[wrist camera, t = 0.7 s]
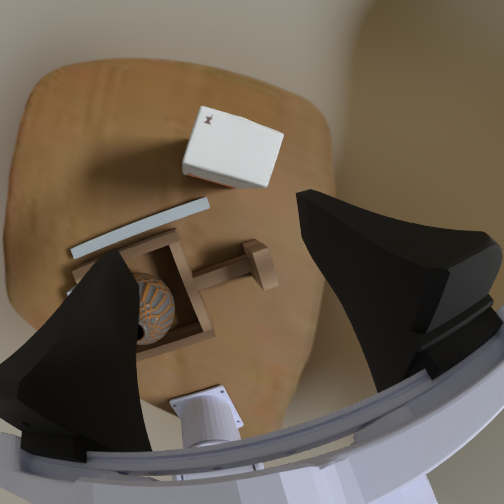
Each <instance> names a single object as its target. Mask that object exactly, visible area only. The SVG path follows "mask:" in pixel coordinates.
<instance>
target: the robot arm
mask: <svg viewBox="0 0 504 504" xmlns="http://www.w3.org/2000/svg"><path fill="white" fill-rule="evenodd" d="M296 198H297V205H298V213H299V220H300V228H301V236H302V239H303V241H304V243H305V245H306V247H307V249H308V251H309V253H310V255H311V257H312V259H313V260H314V262H315V263H316V265H317V266H318V268H319V269H320V271H321V272H322V274H323V275H324V277H325V278H326V280H327V281H328V283H329V284H330V286H331V287H332V289H333V291H334V292H335V294H336V295H337V297H338V298H339V300H340V302H341V304H342V305H343V307H344V310H345V311H346V314H347V316H348V318H349V320H350V322H351V324H352V326H353V329H354V331H355V333H356V336H357V338H358V340H359V342H360V345H361V347H362V350H363V352H364V355H365V358H366V360H367V363H368V366H369V368H370V371H371V374H372V377H373V380H374V383H375V386H376V389H377V392H378V394H375V395H373V396H371V397H369V398H367V399H364V400H362V401H360V402H358V403H355V404H353V405H350V406H348V407H346V408H343V409H341V410H338V411H336V412H333V413H330V414H327V415H325V416H322V417H319V418H316V419H314V420H310V421H307V422H304V423H301V424H298V425H295V426H292V427H288V428H285V429H281V430H278V431H274V432H270V433H266V434H262V435H258V436H254V437H250V438H245V439H241V437H240V434H239V431H238V428H239V427H242V426H243V422H242V420H241V418H240V417H239V415H238V413H237V411H236V409H235V407H234V405H233V403H232V402H231V400H230V398H229V396H228V394H227V392H226V390H225V388H224V386H222V385H219V386H215V387H212V388H209V389H206V390H203V391H200V392H196V393H193V394H190V395H186V396H183V397H179V398H175V399H172V400H170V405H171V406H172V408H173V409H174V411H175V412H176V414H177V415H178V416H179V418H180V419H181V422H182V437H183V449H177V450H166V451H152V449H151V445H150V442H149V439H148V435H147V431H146V428H145V423H144V419H143V414H142V409H141V404H140V397H139V390H138V381H137V369H136V349H137V336H138V324H139V312H140V293H139V284H138V283H137V281H136V280H135V278H134V276H133V275H132V273H131V271H130V270H129V268H128V266H127V265H126V263H125V261H124V259H123V258H122V256H121V254H120V253H119V251H118V249H114V250H111V251H108V252H106V253H104V254H103V255H102V256H101V257H100V258H99V259H98V260H97V261H96V262H95V263H94V264H93V265H92V267H91V268H90V269H89V270H88V272H87V273H86V274H85V275H84V277H83V278H82V279H81V280H80V282H79V283H78V284H77V285H76V287H75V288H74V289H73V290H72V292H71V293H70V294H69V295H68V297H67V298H66V299H65V300H64V302H63V303H62V304H61V305H60V307H59V308H58V309H57V310H56V311H55V313H54V314H53V315H52V316H51V317H50V318H49V319H48V320H47V322H46V323H45V324H44V325H43V326H42V327H41V328H40V329H39V330H38V331H37V332H36V333H35V334H34V335H33V336H32V337H31V338H30V339H29V340H28V341H27V342H26V343H25V344H24V345H23V346H21V347H20V348H19V349H18V350H17V351H16V352H15V353H14V354H12V355H11V356H10V357H9V358H8V359H6V360H5V361H4V362H2V363H1V364H0V418H2V419H3V420H5V421H6V422H8V423H9V424H11V425H12V426H14V427H16V428H17V429H19V430H21V431H22V437H19V436H16V435H13V434H8V433H3V432H2V433H1V434H0V487H1V488H3V489H5V490H7V491H8V492H10V493H13V494H14V495H16V496H19V497H20V498H22V499H24V500H26V501H28V502H30V503H32V504H438V503H437V501H436V498H435V495H434V493H433V491H432V488H431V486H430V483H429V481H428V478H427V476H426V474H427V473H428V472H430V471H431V470H433V469H434V468H435V467H437V466H438V465H440V464H441V463H442V462H444V461H445V460H446V459H448V458H449V457H450V456H452V455H453V454H454V453H455V452H457V451H458V450H459V449H460V448H462V447H463V446H464V445H465V444H466V443H468V442H469V441H470V440H471V439H472V438H473V437H475V436H476V435H477V434H478V433H479V432H480V431H481V430H482V429H483V428H484V427H485V426H486V425H487V424H488V423H490V422H491V420H493V419H494V418H495V417H496V416H497V414H499V412H500V411H501V410H502V409H503V408H504V304H503V305H502V306H501V307H500V308H499V309H498V310H497V312H495V311H494V310H493V309H492V307H491V306H492V305H493V302H494V301H493V299H492V298H491V297H490V295H489V294H488V293H489V291H490V288H491V287H492V284H493V282H494V280H495V278H496V276H497V274H498V271H499V268H500V266H501V262H502V248H501V247H500V245H499V244H497V243H496V242H495V241H494V240H493V239H492V238H491V237H490V236H489V235H487V234H486V233H485V232H481V231H464V230H452V229H444V228H436V227H430V226H424V225H419V224H415V223H409V222H405V221H401V220H397V219H394V218H390V217H387V216H383V215H380V214H376V213H374V212H371V211H368V210H365V209H362V208H359V207H356V206H354V205H351V204H349V203H346V202H344V201H341V200H339V199H336V198H334V197H331V196H329V195H326V194H324V193H321V192H318V191H315V190H312V189H310V190H306V191H302V192H298V193H296ZM222 390H223V391H222ZM356 432H357V433H356ZM353 433H355V435H354V436H353V438H354V440H355V441H354V442H353V443H352V444H351V445H350V446H347V447H344V448H341V449H338V450H335V451H332V452H329V453H326V454H323V455H319V456H316V457H312V458H308V459H305V460H301V461H297V462H293V463H289V464H285V465H281V466H276V467H271V468H266V469H264V466H263V463H262V462H266V461H271V460H275V459H278V458H282V457H286V456H290V455H293V454H297V453H300V452H303V451H306V450H310V449H312V448H316V447H319V446H321V445H324V444H327V443H330V442H333V441H335V440H338V439H341V438H343V437H346V436H348V435H351V434H353ZM161 475H162V476H163V475H172V478H173V481H159V480H156V479H153V478H151V477H142V476H161Z"/></svg>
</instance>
